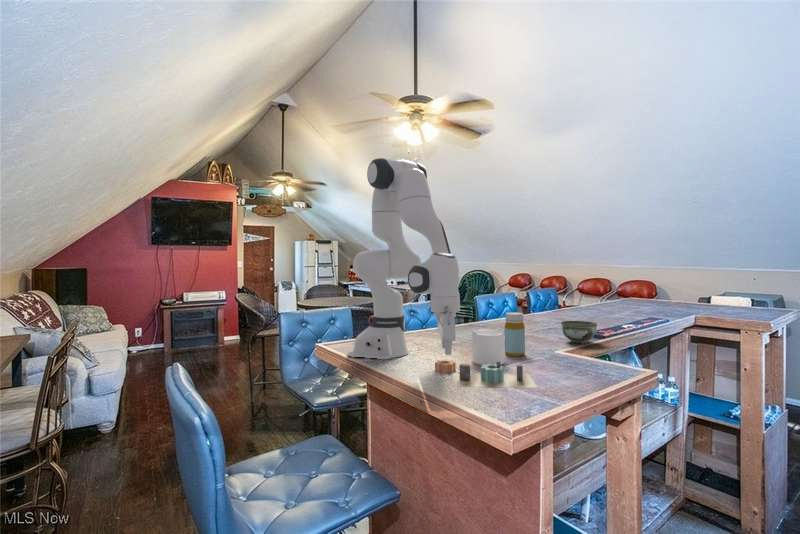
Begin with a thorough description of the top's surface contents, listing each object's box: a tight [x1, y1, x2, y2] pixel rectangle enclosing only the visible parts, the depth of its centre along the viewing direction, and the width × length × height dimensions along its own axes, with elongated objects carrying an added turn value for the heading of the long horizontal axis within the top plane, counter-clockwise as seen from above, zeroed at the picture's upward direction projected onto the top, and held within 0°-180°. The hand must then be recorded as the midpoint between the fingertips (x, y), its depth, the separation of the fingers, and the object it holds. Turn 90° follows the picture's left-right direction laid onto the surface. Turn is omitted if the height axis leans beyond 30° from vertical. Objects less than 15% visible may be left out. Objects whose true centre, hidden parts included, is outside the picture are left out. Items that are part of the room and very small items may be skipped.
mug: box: [471, 329, 505, 366], centre depth 129 cm, size 14×10×11 cm
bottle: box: [504, 311, 526, 358], centre depth 140 cm, size 7×7×15 cm
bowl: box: [560, 320, 598, 344], centre depth 158 cm, size 14×13×8 cm
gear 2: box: [480, 361, 505, 383], centre depth 108 cm, size 6×6×5 cm
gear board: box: [451, 363, 539, 389], centre depth 108 cm, size 22×12×5 cm, turn 83°
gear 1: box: [434, 359, 457, 374], centre depth 119 cm, size 6×6×4 cm
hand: (446, 351), depth 118 cm, fingers open, 8 cm apart
